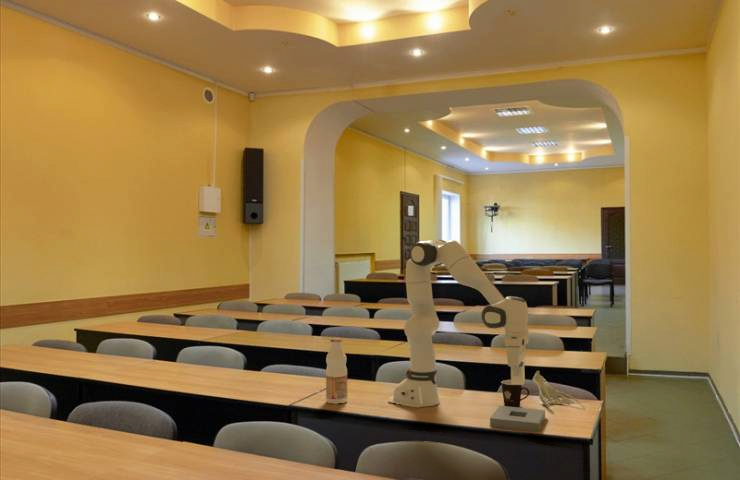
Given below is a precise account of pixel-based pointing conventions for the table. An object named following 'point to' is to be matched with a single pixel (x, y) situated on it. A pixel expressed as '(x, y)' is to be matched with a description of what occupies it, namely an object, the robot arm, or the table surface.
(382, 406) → the table surface
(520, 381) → the toothpick box
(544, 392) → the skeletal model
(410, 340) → the robot arm
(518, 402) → the coffee mug
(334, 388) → the fruit juice
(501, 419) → the socket
